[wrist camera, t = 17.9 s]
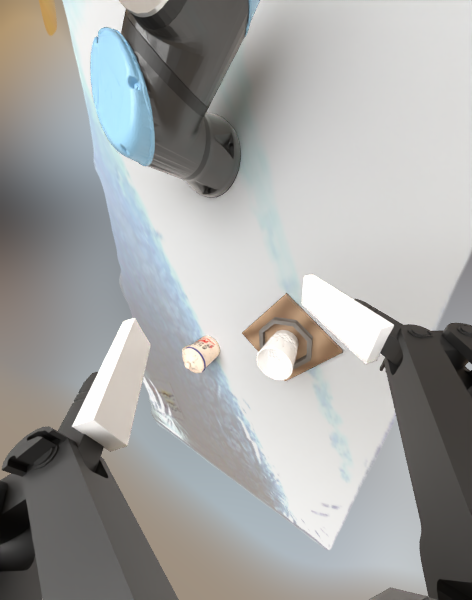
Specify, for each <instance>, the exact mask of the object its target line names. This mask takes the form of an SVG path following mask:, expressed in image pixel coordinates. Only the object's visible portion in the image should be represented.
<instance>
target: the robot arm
mask: <svg viewBox="0 0 472 600" xmlns="http://www.w3.org/2000/svg"><path fill="white" fill-rule="evenodd" d="M119 1H120V2H121V4H122V5H123V6H124V7H125V8H126V12H125V16H124V21H123V26H122V31H121V33H120V32H119V31H118V30H115V29H111V28H108V27H104V28H101V29H100V30H99V32H98V37H95V39H94V41H93V45H92V51H91V64H90V68H91V85H92V93H93V98H94V103H95V107H96V111H97V114H98V118H99V121H100V124H101V126H102V128H103V130H104V133H105V135H106V136H107V138H108V140H109V141H110V143H111V144H112V145H113V147H114V148H115V149H116V150H117V151H118V152H120V153H121V154H122V155H124V156H126V157H128V158H130V159H132V160H134V161H136V162H138V163H139V164H141V165H143V166H149V167H151V168H154V169H157V170H159V171H162V172H165V173H167V174H170V175H173V176H175V177H178V178H181V179H183V180H184V181H185V182H186V183H187V184H188V185H189V186H190V187H191V188H192V189H193V190H194V191H196V192H197V193H199V194H201V195H203V196H206V197H217V196H220V195H222V194H223V193H225V192H226V191H227V190H228V189H229V188H230V186H231V185H232V183H233V182H234V180H235V178H236V175H237V173H238V169H239V165H240V157H241V151H240V143H239V139H238V136H237V134H236V132H235V130H234V128H233V127H232V126H231V125H230V124H229V123H228V122H227V121H226V120H225V119H224V118H223V117H221V116H219V115H216V114H212V113H208V112H206V111H207V109H208V108H209V106H210V104H211V102H212V100H213V98H214V96H215V94H216V92H217V90H218V88H219V86H220V84H221V82H222V80H223V78H224V76H225V74H226V72H227V70H228V68H229V66H230V65H231V63H232V61H233V59H234V57H235V55H236V53H237V51H238V49H239V47H240V45H241V43H242V41H243V39H244V37H245V36H246V35H247V33H248V30H249V26H250V22H251V20H252V17H253V15H254V13H255V11H256V8H257V6H258V4H259V1H260V0H119ZM301 304H302V305H303V306H304V307H305V308H306V309H307V310H308V311H309V312H311V313H312V314H313V315H314V316H315V317H316V318H317V319H318V320H319V321H320V322H321V323H322V324H323V325H324V326H325V327H326V328H328V329H329V330H330V331H331V332H332V333H333V334H334V335H335V336H336V337H337V338H338V339H339V340H340V341H341V342H342V343H344V344H345V345H346V346H347V347H348V348H349V349H350V350H351V351H352V352H353V353H354V354H355V355H356V356H357V357H358V358H360V359H361V360H362V361H363V362H364V363H365V364H368V363H371V362H374V361H377V359H378V357H379V355H380V353H381V354H382V355H383V356H385V359H384V361H383V363H382V365H381V367H380V371H382V370H383V369H384V367H385V368H386V373H387V377H388V381H389V386H390V390H391V394H392V399H393V403H394V408H395V412H396V416H397V421H398V425H399V430H400V434H401V438H402V442H403V447H404V451H405V456H406V460H407V464H408V469H409V473H410V478H411V482H412V486H413V491H414V495H415V500H416V504H417V508H418V513H419V517H420V521H421V537H420V556H421V562H422V567H423V572H424V577H425V581H426V587H427V591H428V596H429V597H428V596H423V595H420V594H415V593H411V592H407V591H403V590H398V589H394V588H389V589H387V590H385V591H383V592H382V593H380V594H378V595H376V596H374V597H373V598H371V599H369V600H472V370H471V371H470V370H468V369H467V368H466V367H465V365H466V364H467V363H468V362H470V363H471V364H472V326H471V325H467V324H463V323H451V324H449V325H448V326H447V327H446V328H445V330H444V331H430V330H428V329H426V328H423V327H421V326H417V325H409V324H408V325H403V324H401V323H399V322H398V321H396V320H394V319H393V318H391V317H389V316H387V315H386V314H384V313H382V312H381V311H378V310H377V309H376V308H374V307H372V306H371V305H369V304H367V303H366V302H364V301H361V300H358V299H352V298H350V297H349V296H347V295H345V294H344V293H342V292H341V291H339V290H337V289H336V288H334V287H333V286H331V285H329V284H328V283H326V282H325V281H323V280H321V279H320V278H318V277H317V276H315V275H313V274H310V275H306V276H304V279H303V290H302V302H301ZM150 346H151V344H150V343H149V341H148V339H147V338H146V336H145V334H144V333H143V331H142V329H141V328H140V326H139V324H138V322H137V321H136V319H135V318H133V319H129V320H125V321H123V323H122V325H121V327H120V329H119V331H118V333H117V335H116V337H115V339H114V341H113V344H112V346H111V348H110V350H109V352H108V354H107V356H106V358H105V360H104V362H103V364H102V366H101V368H100V370H99V371H98V372H95V373H92V374H91V375H90V377H89V378H88V379H87V380H86V381H85V382H84V383H83V385H82V387H81V389H80V391H79V394H78V395H77V396H76V398H75V400H74V403H73V404H72V406H71V407H70V409H69V411H68V413H67V415H66V417H65V419H64V420H63V422H62V424H61V426H60V428H59V430H58V431H56V430H54V429H53V428H51V427H42V428H39V429H37V430H35V431H33V432H32V433H30V434H29V435H27V436H26V437H24V438H23V439H22V440H21V441H20V442H19V443H18V444H17V445H16V446H15V447H14V448H13V449H12V450H11V451H10V453H9V454H8V456H7V457H6V459H5V461H4V462H3V466H2V470H3V471H6V472H9V473H11V474H10V475H8V476H7V477H5V478H3V479H2V480H0V600H42V598H43V600H178V598H177V596H176V594H175V592H174V590H173V588H172V586H171V585H170V583H169V581H168V579H167V577H166V575H165V573H164V571H163V570H162V568H161V566H160V564H159V562H158V560H157V558H156V557H155V555H154V553H153V551H152V549H151V547H150V545H149V543H148V541H147V539H146V538H145V536H144V534H143V532H142V530H141V528H140V526H139V524H138V523H137V521H136V519H135V517H134V515H133V513H132V511H131V509H130V507H129V506H128V504H127V502H126V500H125V498H124V496H123V494H122V493H121V491H120V489H119V487H118V485H117V483H116V481H115V479H114V477H113V476H112V474H111V472H110V470H109V468H108V466H107V464H106V462H105V461H104V459H103V458H102V457H101V454H102V451H103V448H106V449H107V450H109V451H110V452H111V451H114V450H117V449H120V448H123V447H125V446H128V442H129V437H130V433H131V429H132V424H133V420H134V416H135V411H136V407H137V403H138V398H139V394H140V389H141V385H142V381H143V376H144V372H145V368H146V363H147V359H148V355H149V350H150Z"/></svg>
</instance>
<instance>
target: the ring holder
mask: <svg viewBox="0 0 472 600" xmlns="http://www.w3.org/2000/svg"><path fill="white" fill-rule="evenodd" d="M279 330H288V331H290V332H291V333H293V334H294V335H295V336H296V337H297V339H298V343H299V345H298V349H297V356H296V359H295V363H294V367H293V371H292V374H291V376H290V377H289V378H287V379H285V380H284V381H287V380H289V379H291V378H293V377H295V376H297V375H299V374H301V373H303V372H305V371H307V370H309V369H311V368H313V367H315V366H317V365H319V364H321V363H323V362H324V361H326V360H328V359H330V358H332V357H334V356H336V355H338V354H340V353H342V349H341V348H340V347H339V346H338V345H337V344H336V343H335V342H334V341H333V340H332V339H331V338H330V337H329V336H328V335H327V334H326V333H325V332H324V331H323V330H322V329H321V327H320V326H319V325H318V324H317V323H316V322H315V321H314V320H313V319H312V318H311V317H310V316H309V315H308V314H307V313H306V312H305V311H304V310H303V309H302V308H301V307H300V306H299V305H298V304H297V303H296V302H295V301H294V300H293V299H292V298H291V297H290V296H289V295H288V294H287V293H286V294H285V295H284V296H283V297H282V298H281V299H280V300H278V301H277V302H276V303H275V304H274V305H273V306H272V307H271V308H269V309H268V310H267V311H266V312H265V313H264V314H263V315H262V316H260V317H259V318H258V319H257V320H256V321H255V322H254V323H253V324H251V325H250V326H249V327H248V328H247V329H246V330H245V331H244V332H243V333H242V334H243V335H244V336H245V337H246V338H247V339H248V340H249V341H250V343H251V344H252V345H253V346H254V347H255V348H256V349H257V350H258V352H259V351H260V350H261V348H262V347H263V346H264V345H265V343H266V342H267V341H268V340H269V339H270V338H271V337H272V336H273V335H274V334H275V333H276V332H277V331H279Z"/></svg>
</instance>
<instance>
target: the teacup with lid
mask: <svg viewBox="0 0 472 600" xmlns="http://www.w3.org/2000/svg"><path fill="white" fill-rule="evenodd" d="M182 352H183V355H182V356H183V361H184V363H185V367H186V368H188V369H190V370H191V371H192V372H194V373H201V372H203V371H204V370H205V368H206V367H207V366H208V365H209V364H210V363H211V362H212V361H213V360H214V359H215V358H216V357H217V356H218V355H219V353H220V348H219V345H218V343H217V342H216V341H215V340H214V339H213V338H212V337H210V336H203V337H202V338H201V339H199V340H198V341H196V342H195V343H194V344H192V345H188V346H185V347H184V348H183V349H182Z"/></svg>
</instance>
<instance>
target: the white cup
mask: <svg viewBox="0 0 472 600" xmlns="http://www.w3.org/2000/svg"><path fill="white" fill-rule="evenodd" d="M298 345H299V343H298V339H297V337H296V336H295V335H294V334H293V333H291V332H290V331H288V330H279V331H277V332H276V333H275V334H274V335H273V336H272V337H271V338H270V339H269V340H268V341H267V342H266V343H265V345H264V346H263V347H262V348H261V350H260V351H259V352H258V354H257V357H256V361H257V365H258V367H259V368H260V370H261V371H262V372H263V373H264V374H265V375H266V376H268V377H270V378H272V379H275V380H285V379H287V378H289V377H290V376H291V374H292V371H293V367H294V363H295V359H296V356H297V349H298Z"/></svg>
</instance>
